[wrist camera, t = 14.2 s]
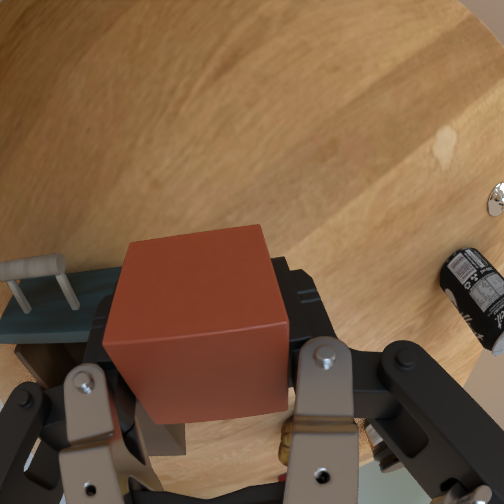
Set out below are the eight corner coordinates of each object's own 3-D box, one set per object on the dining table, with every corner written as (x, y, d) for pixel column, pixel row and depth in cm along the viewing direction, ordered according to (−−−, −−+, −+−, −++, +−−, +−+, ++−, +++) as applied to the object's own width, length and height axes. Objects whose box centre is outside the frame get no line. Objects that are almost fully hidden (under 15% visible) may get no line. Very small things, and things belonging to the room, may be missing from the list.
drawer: (0, 235, 22) (-38, 288, 16) (107, 214, 23) (79, 273, 17) (74, 364, 33) (62, 416, 27) (161, 361, 34) (158, 417, 28)
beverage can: (458, 289, 36) (506, 355, 26) (427, 285, 34) (479, 361, 25) (484, 248, 33) (541, 312, 23) (454, 239, 31) (519, 312, 21)
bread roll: (296, 397, 44) (308, 444, 38) (350, 394, 47) (365, 436, 40) (269, 432, 51) (276, 471, 44) (317, 429, 53) (327, 465, 47)
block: (161, 330, 12) (155, 425, 9) (129, 241, 10) (100, 344, 6) (266, 316, 13) (288, 411, 9) (260, 222, 10) (290, 322, 7)
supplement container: (357, 417, 54) (375, 471, 44) (407, 394, 52) (430, 446, 42) (366, 431, 59) (382, 476, 50) (410, 410, 58) (429, 455, 48)
